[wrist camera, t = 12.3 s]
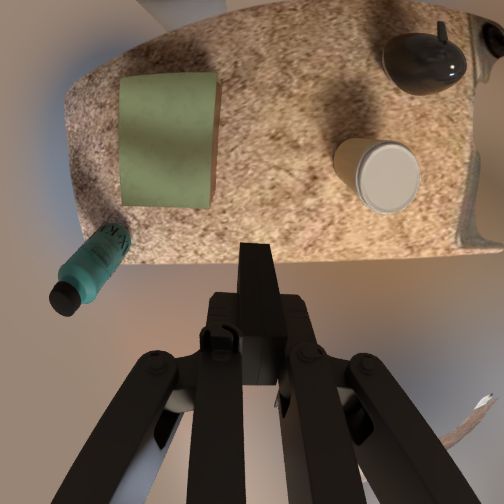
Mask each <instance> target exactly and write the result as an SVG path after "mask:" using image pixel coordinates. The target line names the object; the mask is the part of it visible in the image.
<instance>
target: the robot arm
mask: <svg viewBox="0 0 504 504" xmlns="http://www.w3.org/2000/svg"><path fill="white" fill-rule="evenodd" d="M199 336H200V349H199V350H198V351H197V352H196V353H194V354H192V355H189V356H185V357H179V358H174V357H173V356H172V355H171V354H169V353H168V352H166V351H160V350H155V351H149V352H147V353H145V354H143V355H142V356H141V357H140V358H139V359H138V361H137V362H136V364H135V366H134V367H133V368H132V370H131V372H130V373H129V374H128V376H127V378H126V379H125V381H124V382H123V384H122V385H121V387H120V388H119V390H118V392H117V393H116V395H115V397H114V398H113V399H112V401H111V402H110V404H109V406H108V407H107V409H106V410H105V412H104V414H103V415H102V417H101V418H100V420H99V422H98V423H97V425H96V427H95V428H94V430H93V432H92V433H91V435H90V436H89V438H88V440H87V441H86V443H85V445H84V446H83V448H82V450H81V451H80V453H79V455H78V456H77V458H76V460H75V461H74V463H73V465H72V467H71V468H70V470H69V472H68V474H67V475H66V477H65V479H64V481H63V483H62V484H61V486H60V488H59V489H58V491H57V493H56V495H55V497H54V499H53V500H52V502H51V504H144V503H145V500H146V498H147V496H148V494H149V491H150V489H151V487H152V485H153V482H154V480H155V478H156V476H157V473H158V471H159V469H160V466H161V464H162V462H163V460H164V457H165V455H166V453H167V451H168V449H169V446H170V444H171V442H172V439H173V437H174V435H175V433H176V430H177V428H178V426H179V423H180V421H181V419H182V417H183V414H184V412H188V411H193V410H194V413H193V423H192V434H191V445H190V457H189V469H188V484H187V499H186V504H246V489H245V461H244V430H243V392H242V385H276V383H277V380H278V383H279V390H278V394H277V397H276V401H275V405H274V407H277V406H278V409H279V418H280V427H281V436H282V445H283V453H284V463H285V472H286V481H287V490H288V501H289V504H367V502H366V498H365V493H364V489H363V485H362V480H361V476H360V472H359V468H358V465H359V467H360V468H361V470H362V472H363V474H364V476H365V477H366V479H367V481H368V483H369V485H370V486H371V488H372V490H373V491H374V493H375V495H376V497H377V499H378V501H379V502H380V504H481V502H480V501H479V499H478V498H477V496H476V495H475V493H474V491H473V490H472V488H471V487H470V485H469V484H468V482H467V480H466V479H465V477H464V476H463V474H462V473H461V471H460V470H459V468H458V467H457V466H456V464H455V462H454V461H453V459H452V458H451V456H450V455H449V453H448V452H447V450H446V449H445V448H444V446H443V445H442V443H441V442H440V440H439V439H438V438H437V436H436V435H435V433H434V432H433V430H432V429H431V428H430V426H429V425H428V424H427V422H426V421H425V419H424V418H423V416H422V415H421V414H420V412H419V411H418V409H417V408H416V407H415V405H414V404H413V403H412V401H411V400H410V399H409V397H408V396H407V394H406V393H405V392H404V390H403V389H402V388H401V386H400V385H399V384H398V382H397V381H396V380H395V378H394V377H393V376H392V375H391V373H390V372H389V370H388V369H387V368H386V367H385V365H384V364H383V363H382V361H381V360H380V359H379V358H377V357H376V356H374V355H372V354H368V353H358V354H356V355H354V356H353V357H352V358H351V360H350V361H348V360H343V359H338V358H334V357H331V356H329V355H327V354H326V352H325V350H324V349H323V348H322V347H321V346H320V345H318V344H317V341H316V338H315V334H314V331H313V328H312V325H311V321H310V319H309V315H308V312H307V308H306V305H305V302H304V301H303V300H302V299H301V298H300V296H299V295H293V294H292V295H291V294H280V292H279V287H278V283H277V278H276V273H275V268H274V263H273V258H272V254H271V249H270V244H259V243H242V242H240V251H239V265H238V281H237V293H226V292H215V293H214V295H213V296H212V297H211V298H210V300H209V309H208V316H207V323H206V326H205V327H204V328H203V329H202V330H201V332H200V335H199ZM357 463H358V464H357Z"/></svg>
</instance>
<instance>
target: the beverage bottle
mask: <svg viewBox="0 0 504 504" xmlns="http://www.w3.org/2000/svg"><path fill="white" fill-rule="evenodd" d="M130 245H131V238H130V235H129V233H128V231H127V230H126V229H125V228H124V227H123V226H122V225H120V224H118V223H107V224H104V226H102V227H100V228H99V229H98V230H97V231H96V232H95V233H94V234H93V235H92V236H90V237H89V239H88V240H87V241H86V242H85V243H84V244H83V245H82V246H81V247H80V248H79V249H78V250H77V251H76V252H75V254H73V255H72V257H70V259H69V260H68V261H67V262H66V263H65V264H63V265H62V266H61V268H60V269H59V272H58V281H59V282H57V284H56V285H55V286H54V288H53V289H52V291H51V293H50V295H49V301H50V304H51V305H52V307H53V308H54V309H55V311H56V312H58V313H59V314H61V315H63V316H66V317H69V316H72V315H73V314H74V313H75V311H76V310H77V309H78V308H79V307H80V305H81V304H88V303H91V302H92V301H93V300H94V299H95V298H96V296H97V294H98V292H99V291H100V289H101V288H102V287H103V285H104V284H105V282H106V281H107V280H108V279H109V277H110V276H111V274H112V273H113V271H114V270H115V269H116V267H117V266H118V265H119V263H120V262H121V260H122V259H123V258H124V256H125V255H126V254H127V252H128V251H129V249H130V248H131V247H130ZM125 257H126V256H125Z"/></svg>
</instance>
